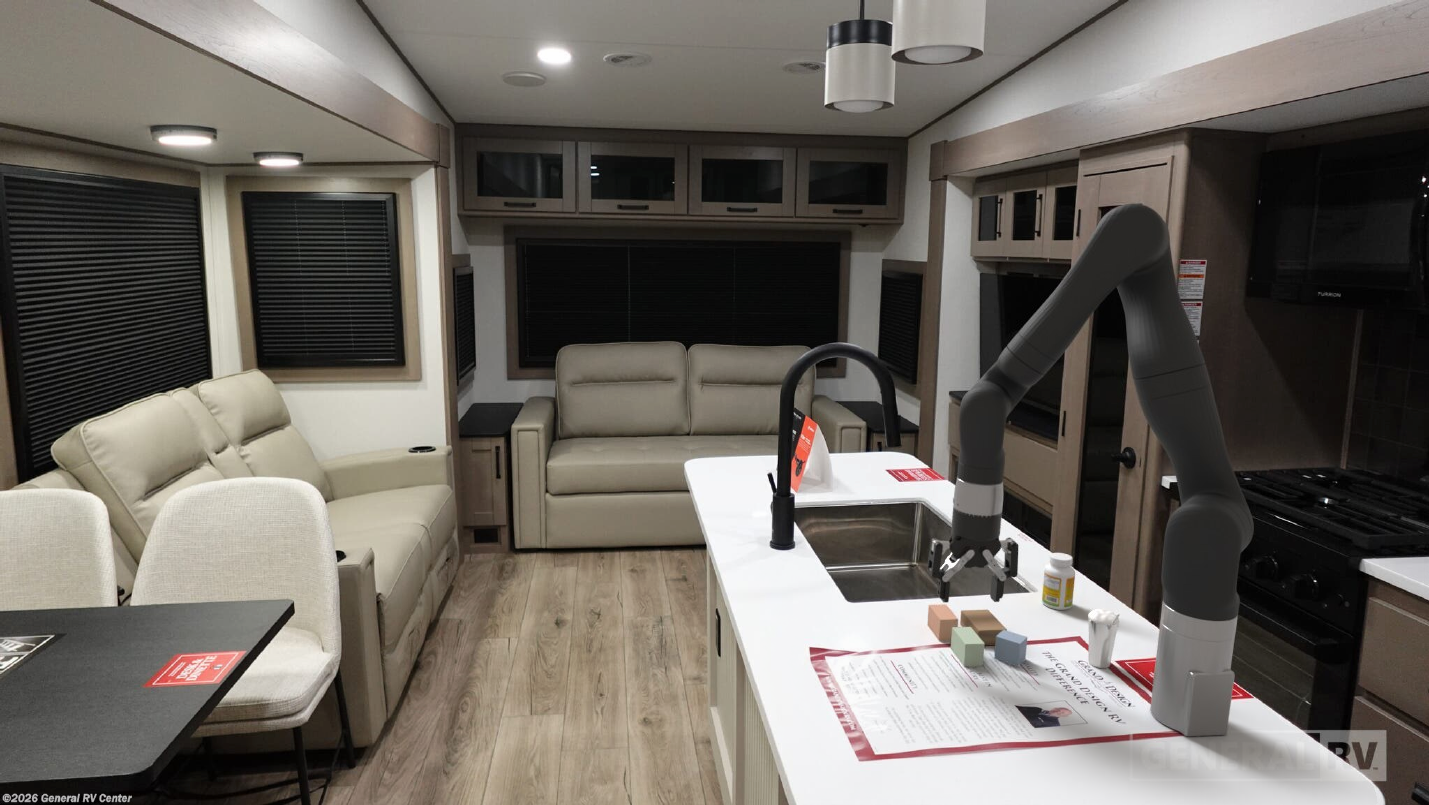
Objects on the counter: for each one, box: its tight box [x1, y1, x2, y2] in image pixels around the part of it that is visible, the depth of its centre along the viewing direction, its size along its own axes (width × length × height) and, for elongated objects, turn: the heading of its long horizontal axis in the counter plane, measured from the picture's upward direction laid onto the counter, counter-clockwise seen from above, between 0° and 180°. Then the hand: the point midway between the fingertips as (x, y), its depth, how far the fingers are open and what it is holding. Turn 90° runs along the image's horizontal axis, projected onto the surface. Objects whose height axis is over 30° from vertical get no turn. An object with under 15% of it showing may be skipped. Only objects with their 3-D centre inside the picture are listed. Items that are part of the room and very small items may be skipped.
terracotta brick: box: [926, 604, 959, 642], centre depth 148 cm, size 6×3×4 cm, turn 5°
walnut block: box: [959, 609, 1008, 646], centre depth 148 cm, size 8×5×3 cm, turn 5°
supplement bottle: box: [1041, 552, 1076, 611], centre depth 159 cm, size 5×5×10 cm
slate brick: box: [993, 630, 1028, 667], centre depth 139 cm, size 4×3×4 cm
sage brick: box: [950, 626, 986, 667], centre depth 139 cm, size 6×3×4 cm, turn 5°
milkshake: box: [1087, 608, 1121, 669], centre depth 136 cm, size 4×5×10 cm
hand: (969, 600), depth 138 cm, fingers open, 8 cm apart
